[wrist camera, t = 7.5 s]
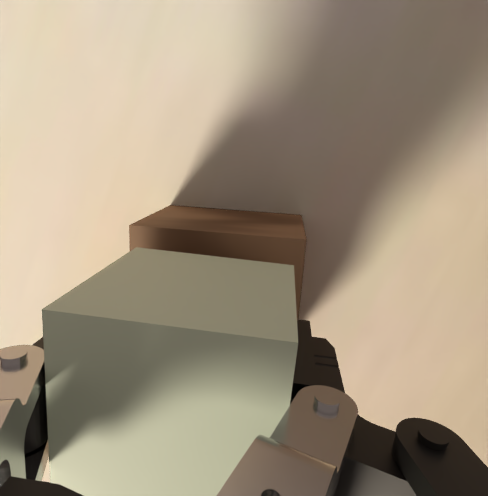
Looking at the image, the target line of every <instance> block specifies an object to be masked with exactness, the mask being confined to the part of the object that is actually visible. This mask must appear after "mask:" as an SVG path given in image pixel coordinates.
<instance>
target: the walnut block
mask: <svg viewBox="0 0 488 496" xmlns="http://www.w3.org/2000/svg"><path fill="white" fill-rule="evenodd" d="M129 233H130V251H132V250H133V249H135V248H136V247H138V248H147V249H156V250H165V251H173V252H182V253H191V254H200V255H209V256H217V257H226V258H235V259H244V260H252V261H261V262H270V263H279V264H288V265H294V276H295V293H296V311H297V319H298V317H299V307H300V298H301V288H302V278H303V268H304V258H305V248H306V235H305V230H304V226H303V221H302V216H301V215H294V214H280V213H267V212H254V211H240V210H227V209H214V208H200V207H187V206H174V205H170V206H168V207H166V208H164V209H162V210H160V211H158V212H155V213H153V214H151V215H149V216H147V217H145V218H143V219H141V220H139V221H137V222H135V223H133V224H131V225H129Z"/></svg>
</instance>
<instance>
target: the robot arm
mask: <svg viewBox="0 0 488 496" xmlns="http://www.w3.org/2000/svg"><path fill="white" fill-rule="evenodd" d="M297 329H298V349H297V356H296V363H295V371H294V378H293V386H292V393H291V400H290V406H289V407H288V409H287V411H286V412H285V414H284V415H283V417H282V419H281V420H280V422H279V423H278V425H277V427H276V428H275V430H274V431H273V433H272V435H271V436H270V438H268V437H266V436H263V435H258V436H257V437H256V438H255V440H254V441H253V442H252V444H251V445H250V447H249V448H248V450H247V451H246V453H245V454H244V456H243V457H242V459H241V460H240V462H239V463H238V465H237V466H236V468H235V469H234V471H233V472H232V473H231V475H230V476H229V478H228V479H227V481H226V482H225V484H224V485H223V487H222V488H221V490H220V491H219V493H218V494H217V496H488V467H487V466H486V465H485V464H484V463H483V462H482V461H481V460H480V458H479V457H478V456H477V455H476V454H475V453H474V452H473V451H472V450H471V449H470V447H469V446H468V445H467V444H466V443H465V442H464V441H463V440H462V439H461V438H460V437H459V436H458V435H457V434H456V433H454V432H453V431H451V430H450V429H448V428H447V427H445V426H443V425H441V424H438V423H436V422H433V421H430V420H426V419H421V418H408V419H404V420H402V421H401V422H400V423H399V424H398V425H397V428H396V432H394V431H392V430H389V429H386V428H383V427H380V426H378V425H375V424H373V423H371V422H369V421H367V420H365V419H363V418H362V417H360V416H359V415H358V408H357V405H356V403H355V402H354V401H353V399H352V398H351V397H349V396H348V395H347V394H345V391H344V387H343V383H342V378H341V374H340V370H339V368H338V361H337V357H336V353H335V349H334V347H333V346H332V345H331V344H330V343H329V342H328V341H327V340H326V339H324V338H317V337H312V336H311V328H310V321H306V320H298V319H297ZM48 456H49V448H48V427H47V405H46V384H45V363H44V342H43V337H42V338H41V339H40V340H38V341H37V342H36V343H34V344H33V345H17V346H10V347H6V348H3V349H0V496H83V495H81V494H79V493H77V492H75V491H73V490H71V489H69V488H66V487H64V486H62V485H60V484H55V483H49V482H43V481H42V477H43V474H44V470H45V467H46V463H47V460H48Z"/></svg>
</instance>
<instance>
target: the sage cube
mask: <svg viewBox="0 0 488 496" xmlns="http://www.w3.org/2000/svg"><path fill="white" fill-rule="evenodd" d="M42 321H43V342H44V363H45V384H46V405H47V427H48V448H49V469H50V483H55V484H60V485H62V486H64V487H66V488H69V489H71V490H73V491H75V492H77V493H79V494H81V495H83V496H217V494H218V493H219V491H220V490H221V488H222V487H223V485H224V484H225V482H226V481H227V479H228V478H229V476H230V475H231V473H232V472H233V471H234V469H235V468H236V466H237V465H238V463H239V462H240V460H241V459H242V457H243V456H244V454H245V453H246V451H247V450H248V448H249V447H250V445H251V444H252V442H253V441H254V440H255V438H256V437H257V436H258V435H263V436H266V437H268V438H270V436H271V435H272V433H273V431H274V430H275V428H276V427H277V425H278V423H279V422H280V420H281V419H282V417H283V415H284V414H285V412H286V411H287V409H288V407H289V406H290V400H291V393H292V386H293V378H294V371H295V363H296V356H297V349H298V329H297V311H296V293H295V276H294V265H288V264H279V263H270V262H261V261H252V260H244V259H235V258H226V257H217V256H209V255H200V254H191V253H182V252H173V251H165V250H156V249H147V248H138V247H136V248H135V249H133V250H132V251H130V252H128V253H127V254H125V255H124V256H122V257H121V258H119V259H118V260H116V261H115V262H113V263H112V264H110V265H109V266H107V267H106V268H104V269H103V270H101V271H100V272H98V273H97V274H95V275H94V276H92V277H90V278H89V279H87V280H86V281H84V282H83V283H81V284H80V285H78V286H77V287H75V288H74V289H72V290H71V291H69V292H68V293H66V294H65V295H63V296H62V297H60V298H59V299H57V300H56V301H54V302H53V303H51V304H49V305H48V306H46V307H45V308H43V309H42Z"/></svg>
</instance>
